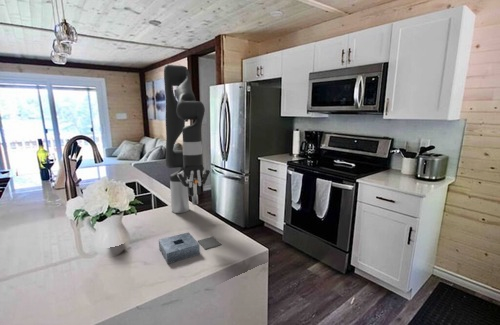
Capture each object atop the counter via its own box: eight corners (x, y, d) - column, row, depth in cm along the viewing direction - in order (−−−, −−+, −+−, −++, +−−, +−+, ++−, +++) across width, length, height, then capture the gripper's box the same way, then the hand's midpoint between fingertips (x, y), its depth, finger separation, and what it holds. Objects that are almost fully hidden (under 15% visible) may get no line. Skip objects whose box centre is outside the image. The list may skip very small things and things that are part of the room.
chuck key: (190, 202, 107) (188, 176, 105) (195, 201, 109) (194, 175, 107) (194, 205, 103) (193, 178, 101) (200, 204, 104) (199, 178, 103)
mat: (197, 241, 108) (197, 240, 108) (213, 237, 111) (213, 236, 111) (205, 249, 101) (205, 248, 101) (221, 244, 105) (221, 244, 105)
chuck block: (159, 249, 102) (158, 239, 101) (189, 241, 108) (188, 232, 107) (167, 263, 92) (166, 253, 91) (199, 254, 98) (199, 244, 97)
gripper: (205, 150, 109) (206, 190, 112) (172, 153, 102) (174, 196, 105) (212, 152, 103) (214, 194, 106) (178, 155, 96) (180, 200, 98)
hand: (194, 195), depth 105 cm, fingers closed on chuck key, 2 cm apart
